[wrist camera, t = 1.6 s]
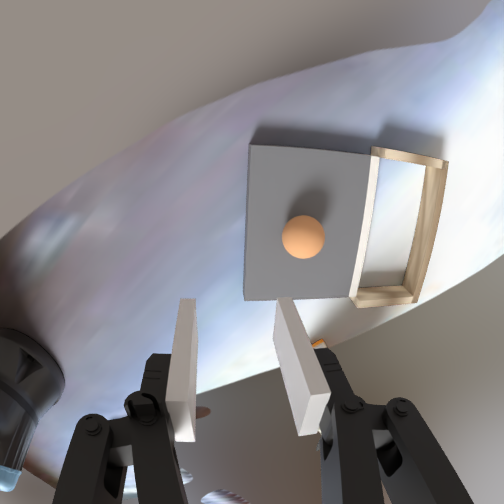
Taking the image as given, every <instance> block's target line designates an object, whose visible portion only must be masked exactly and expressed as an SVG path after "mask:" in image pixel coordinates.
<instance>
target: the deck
mask: <svg viewBox="0 0 504 504" xmlns="http://www.w3.org/2000/svg"><path fill="white" fill-rule="evenodd" d="M379 158H380V157H377V156H373V155H367V154H360V153H352V152H344V151H335V150H326V149H316V148H305V147H292V146H277V145H258V144H249V153H248V176H247V199H246V224H245V249H244V275H243V295H244V301H267V300H277V298H282V297H292V299H293V300H298V299H321V298H341V297H356V295H357V290H358V286H359V281H360V277H361V272H362V267H363V262H364V257H365V252H366V247H367V241H368V236H369V230H370V224H371V218H372V212H373V205H374V198H375V191H376V184H377V176H378V167H379ZM301 215H306V216H310V217H313V218H315V219H316V220H317V221H318V222H319V223H320V224H321V225H322V227H323V229H324V233H325V242H324V245H323V247H322V249H321V250H320V252H319V253H318V254H316V255H315V256H313V257H310V258H306V259H301V258H297V257H294V256H292V255H291V254H290V253H288V251H287V250H286V249H285V247H284V245H283V242H282V232H283V229H284V227H285V225H286V224H287V222H288V221H289V220H291V219H292V218H294V217H296V216H301Z"/></svg>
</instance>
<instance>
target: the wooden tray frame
mask: <svg viewBox="0 0 504 504" xmlns="http://www.w3.org/2000/svg"><path fill="white" fill-rule="evenodd" d="M371 155H373V156H377V157H381V158H385V159H392V160H398V161H404V162H409V163H415V164H420V165H425V166H426V170H425V178H424V185H423V191H422V197H421V203H420V209H419V214H418V219H417V225H416V229H415V234H414V239H413V243H412V248H411V252H410V256H409V260H408V264H407V268H406V272H405V276H404V280H403V283H402V285H399V286H383V287H365V288H358V290H357V295H356V297H350V299H351V300H352V301H353V303H354V304H355V306H356V307H357V308H368V307H380V306H391V305H401V304H410V303H417V301H418V298H419V295H420V292H421V289H422V285H423V282H424V279H425V275H426V272H427V268H428V264H429V261H430V257H431V253H432V249H433V245H434V241H435V236H436V232H437V227H438V223H439V218H440V213H441V208H442V202H443V197H444V191H445V185H446V178H447V171H448V163H449V162H448V161H445V160H441V159H437V158H432V157H428V156H423V155H419V154H414V153H409V152H404V151H398V150H393V149H387V148H381V147H375V146H371Z"/></svg>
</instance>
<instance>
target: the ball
mask: <svg viewBox="0 0 504 504" xmlns="http://www.w3.org/2000/svg"><path fill="white" fill-rule="evenodd" d="M282 242H283V245H284V247H285V249H286V250H287V251H288V253H290V254H291V255H292V256H294V257H297V258H301V259H306V258H310V257H313V256H315V255H316V254H318V253H319V252H320V250H321V249H322V247H323V245H324V242H325V233H324V229H323V227H322V225H321V224H320V223H319V222H318V221H317V220H316V219H315V218H313V217H310V216H306V215H301V216H296V217H294V218H292V219H291V220H289V221H288V222H287V224H286V225H285V227H284V229H283V232H282Z"/></svg>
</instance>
